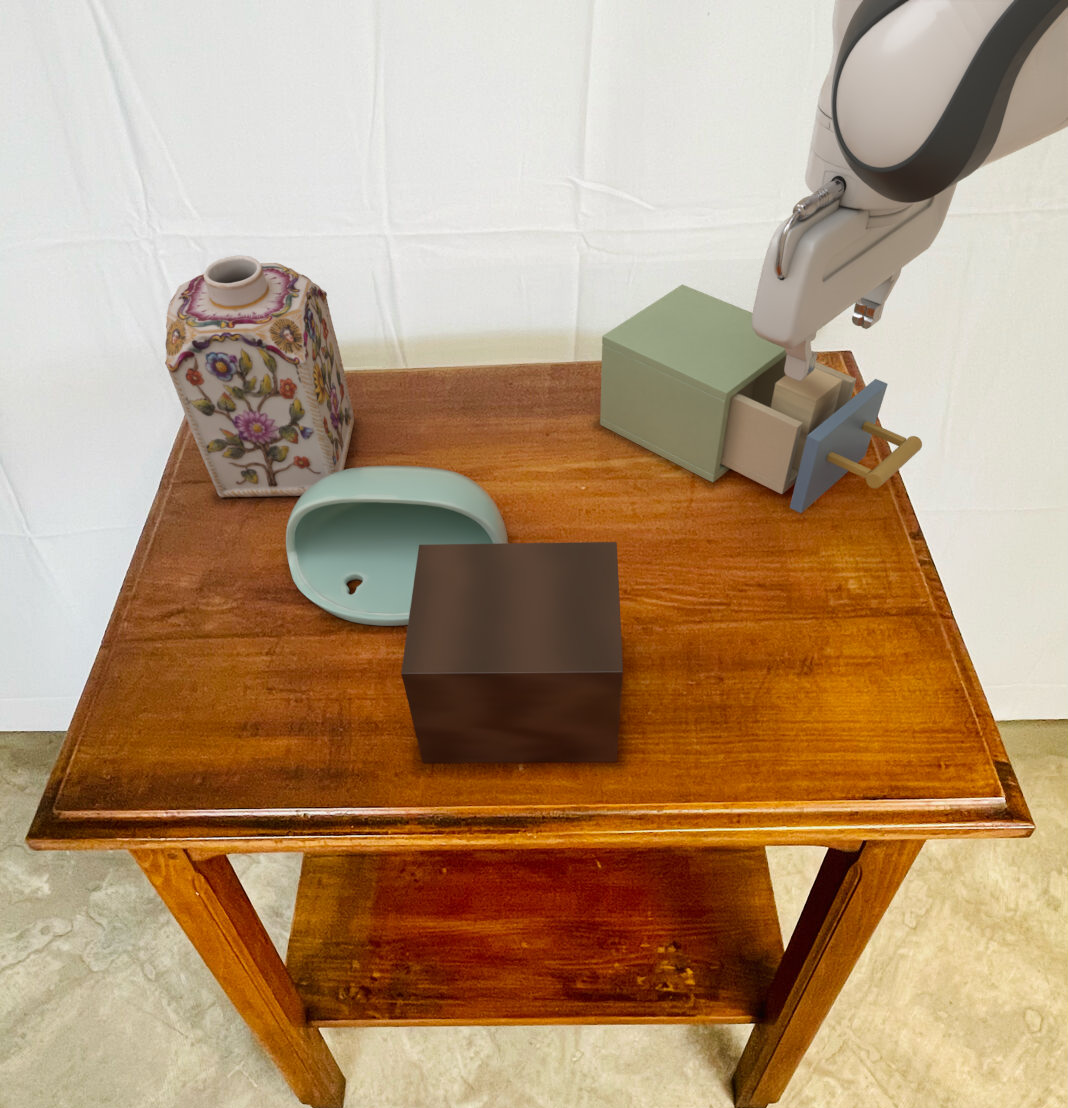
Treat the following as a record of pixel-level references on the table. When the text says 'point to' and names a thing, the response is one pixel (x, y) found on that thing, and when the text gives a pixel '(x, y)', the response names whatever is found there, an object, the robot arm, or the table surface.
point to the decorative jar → (259, 377)
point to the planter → (381, 535)
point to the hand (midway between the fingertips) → (832, 348)
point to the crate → (515, 653)
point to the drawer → (808, 439)
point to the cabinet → (681, 376)
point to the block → (806, 403)
